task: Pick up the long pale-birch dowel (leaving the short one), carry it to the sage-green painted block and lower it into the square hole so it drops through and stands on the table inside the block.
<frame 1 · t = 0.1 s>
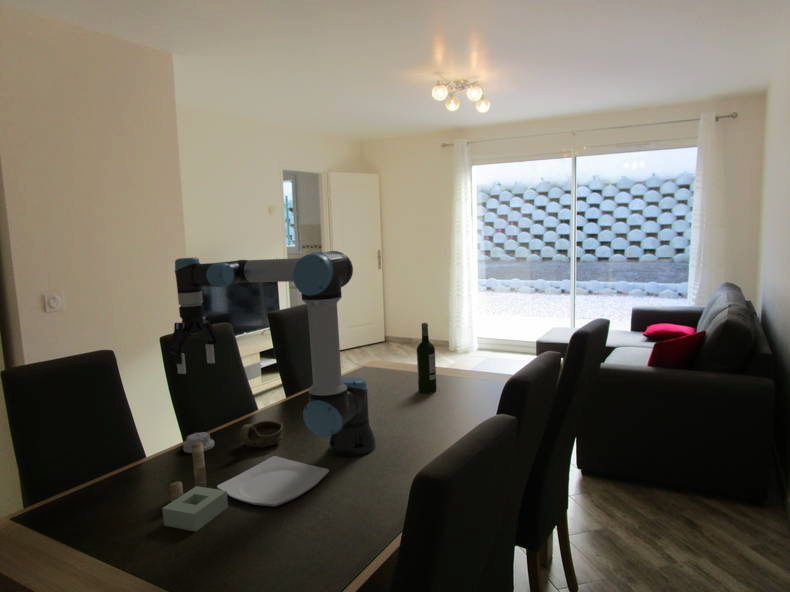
hand: (197, 368, 177), 28 cm above the table, fingers open, 13 cm apart
long dowel: (201, 487, 152), on the table
wine bottle: (427, 391, 233), on the table
brown mug: (261, 447, 180), on the table
mechanical component: (199, 448, 182), on the table
short dowel: (178, 505, 142), on the table
hole block: (197, 516, 136), on the table
plate: (274, 487, 151), on the table
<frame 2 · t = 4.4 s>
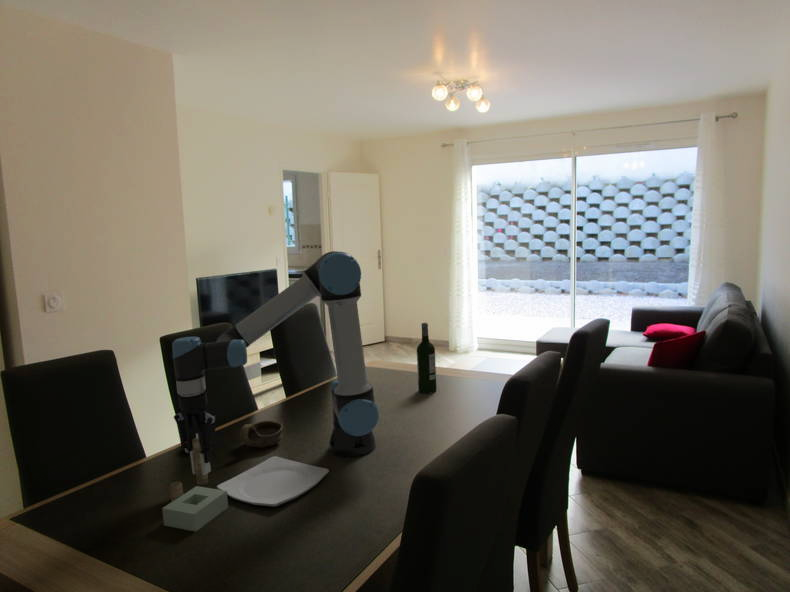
hand: (201, 472, 152), 4 cm above the table, fingers closed on long dowel, 3 cm apart
long dowel: (202, 482, 152), point 1 cm above the table, touching gripper
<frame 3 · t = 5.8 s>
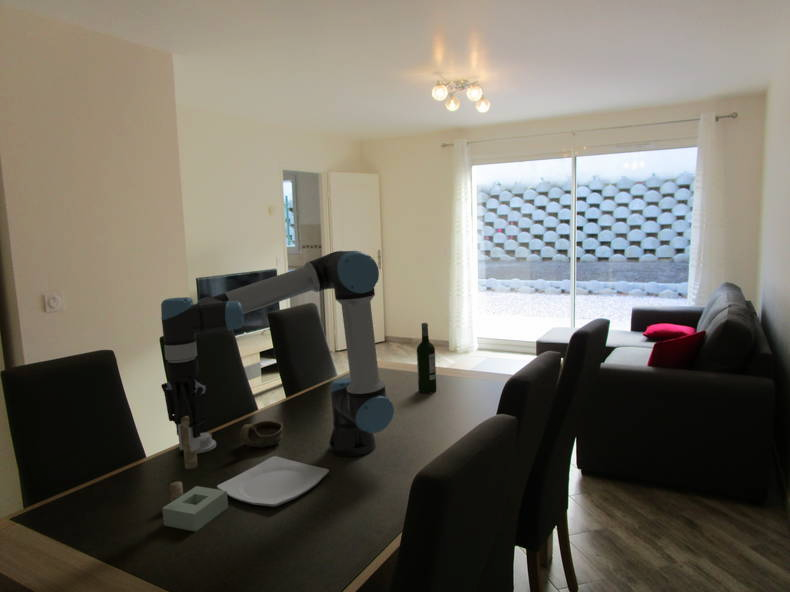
hand: (189, 448, 137), 17 cm above the table, fingers closed on long dowel, 3 cm apart
long dowel: (191, 466, 138), point 12 cm above the table, touching gripper
when the fingers open (6 cm above the table, at t = 7.7 s): long dowel drops 1 cm, resting in hole block.
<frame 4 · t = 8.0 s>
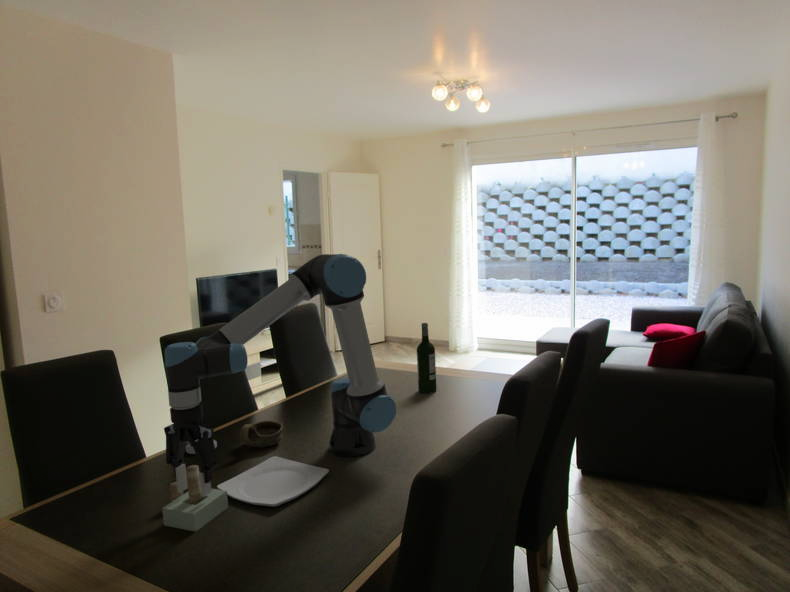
hand: (194, 492, 136), 6 cm above the table, fingers open, 7 cm apart
long dowel: (197, 516, 136), resting in hole block
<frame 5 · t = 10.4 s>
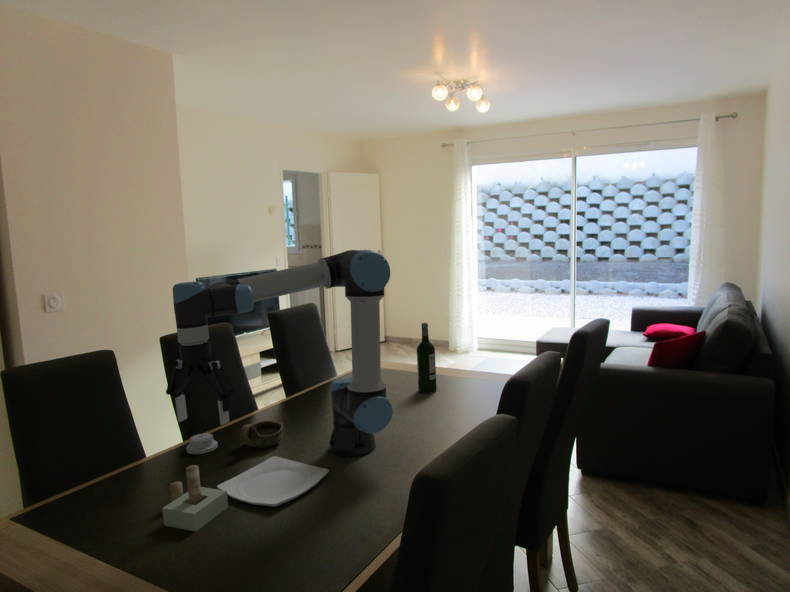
hand: (203, 421, 139), 23 cm above the table, fingers open, 13 cm apart
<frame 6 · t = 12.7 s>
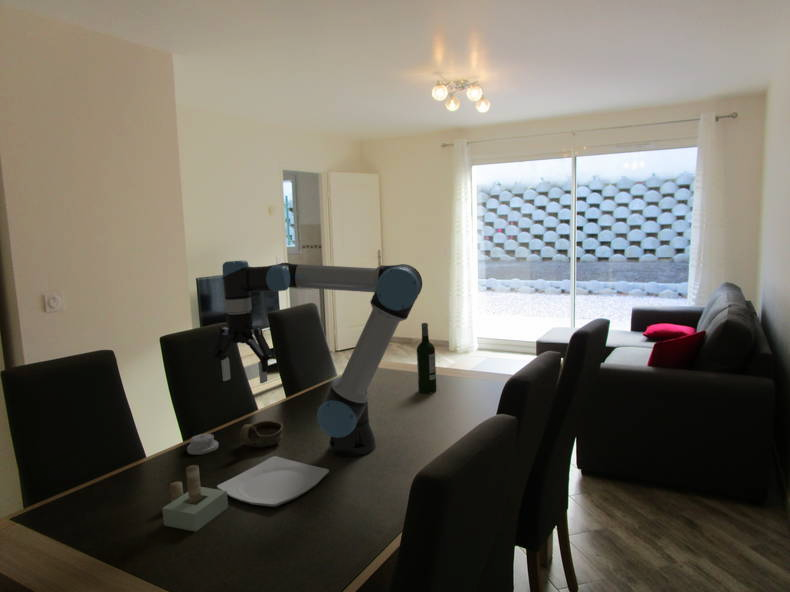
hand: (245, 381, 163), 27 cm above the table, fingers open, 13 cm apart
at the end: long dowel 0.0 cm off-centre on the hole block, point 0.0 cm above the hole block's base; long dowel tilted 0°; short dowel moved 0.0 cm from its start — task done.
